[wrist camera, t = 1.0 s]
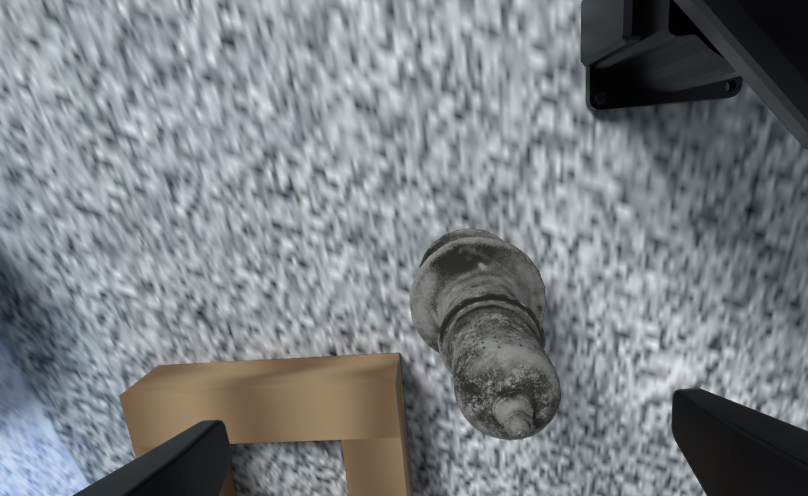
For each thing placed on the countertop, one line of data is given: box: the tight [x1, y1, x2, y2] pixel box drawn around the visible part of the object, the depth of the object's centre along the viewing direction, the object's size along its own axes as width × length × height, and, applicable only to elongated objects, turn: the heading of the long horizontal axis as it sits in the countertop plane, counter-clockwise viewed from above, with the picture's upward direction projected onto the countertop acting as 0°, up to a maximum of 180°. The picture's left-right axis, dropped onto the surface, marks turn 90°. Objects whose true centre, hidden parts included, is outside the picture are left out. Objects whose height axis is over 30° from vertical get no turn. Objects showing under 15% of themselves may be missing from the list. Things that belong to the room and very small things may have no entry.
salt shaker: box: [410, 229, 561, 440], centre depth 15 cm, size 6×6×12 cm
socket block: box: [119, 353, 413, 496], centre depth 22 cm, size 14×14×3 cm
